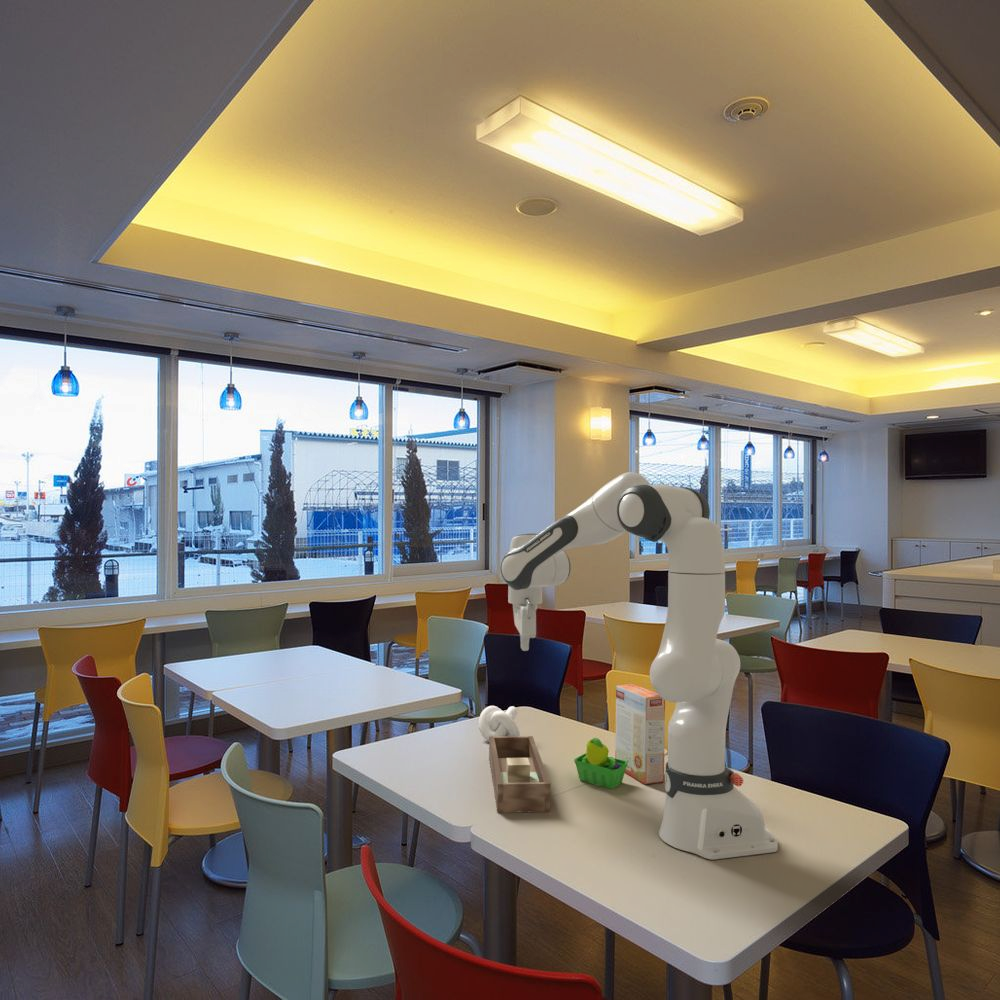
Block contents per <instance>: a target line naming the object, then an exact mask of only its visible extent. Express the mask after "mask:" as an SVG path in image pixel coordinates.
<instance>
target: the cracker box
mask: <svg viewBox="0 0 1000 1000" xmlns="http://www.w3.org/2000/svg"><path fill="white" fill-rule="evenodd" d="M665 722H666V700H665V699H663V698H661V697H660V696H659V695H658V694H657V693H656V691H653V690H650V689H648V688H645V687H642V686H640V685H637V684H634V683H627V684H618V685H616V686H615V737H614V738H615V739H614V740H615V743H614V745H615V747H614V748H615V750H614V751H615V756H614V758H615V759H620V760H624V761H627V762H628V764H627V767H626V769H625V773H624V774H627V775H629V776H630V777H632V778H633V779H636V780H637V781H639V782H641V783H642V784H643V785H648V784H649V785H650V784H658V783H665V751H666V750H665V742H666V741H665V739H666V737H665V736H666V735H665V733H666V731H665V730H666V728H665V727H666V725H665V724H666V723H665Z"/></svg>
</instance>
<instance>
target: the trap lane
mask: <svg viewBox="0 0 1000 1000" xmlns="http://www.w3.org/2000/svg"><path fill="white" fill-rule="evenodd" d="M488 742H489V743H488V744H489V747H488V753H489V754H488V762H489V761H490V762H489V768H491V769H490V772H491V773H490V775H491V774H492V775H491V779H492V780H491V781H492V787H494V788H493V792H494V799H495V800H496V801H495V806H496V813H497V812H501V813H519V812H518V811H521V812H520V813H529V812H528V811H531V812H530V813H550V812H551V782H550V779H549V777H548V773H547V771H546V768H545V765H544V762H543V760H542V758H541V755H540V752H539V749H538V747H537V743H536V741H535V739H534V736H533V735H527V736H526V735H524V736H523V735H521V736H506V735H505V736H494V737H489V741H488ZM507 758H528V760H529V763H530V782H514V783H508V781H507V776H506V760H507ZM532 811H533V812H532Z"/></svg>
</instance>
